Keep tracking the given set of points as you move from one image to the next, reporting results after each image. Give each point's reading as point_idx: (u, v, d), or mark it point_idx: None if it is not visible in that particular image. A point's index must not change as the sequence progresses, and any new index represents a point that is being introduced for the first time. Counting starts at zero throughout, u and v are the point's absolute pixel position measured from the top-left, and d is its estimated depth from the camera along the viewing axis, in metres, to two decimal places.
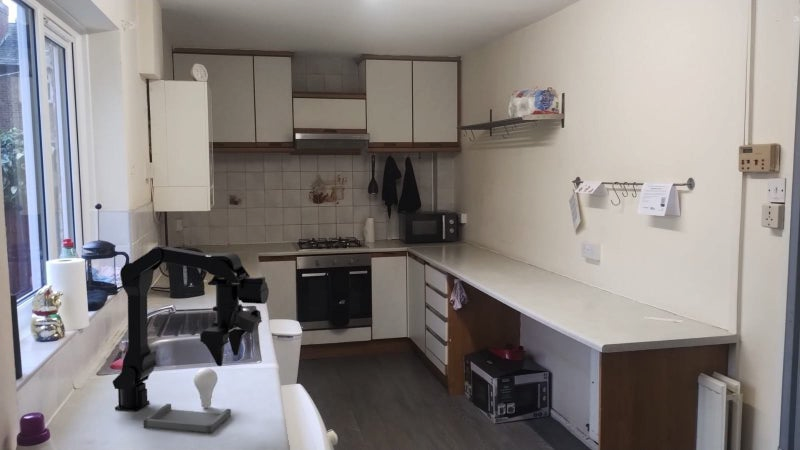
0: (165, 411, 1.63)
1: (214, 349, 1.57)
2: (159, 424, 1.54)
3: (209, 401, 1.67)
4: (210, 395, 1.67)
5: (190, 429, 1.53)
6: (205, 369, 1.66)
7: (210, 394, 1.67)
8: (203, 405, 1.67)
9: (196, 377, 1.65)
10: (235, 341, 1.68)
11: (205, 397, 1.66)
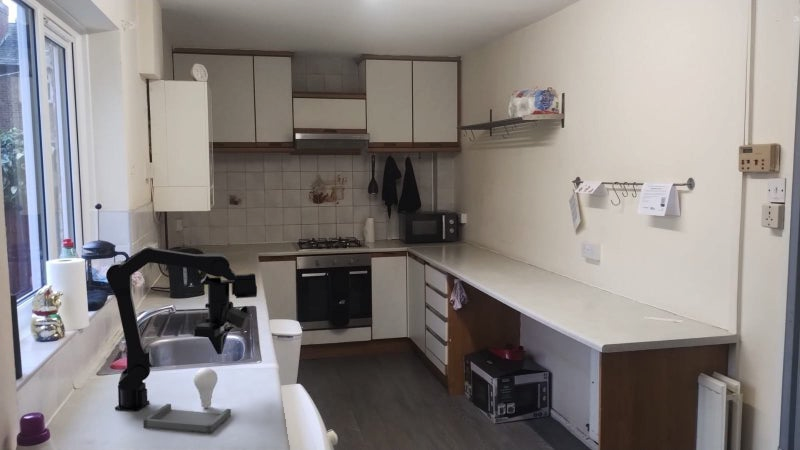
0: (165, 411, 1.63)
1: (214, 339, 1.73)
2: (159, 424, 1.54)
3: (209, 401, 1.67)
4: (210, 395, 1.67)
5: (190, 429, 1.53)
6: (205, 369, 1.66)
7: (210, 394, 1.67)
8: (203, 405, 1.67)
9: (196, 377, 1.65)
10: None
11: (205, 397, 1.66)
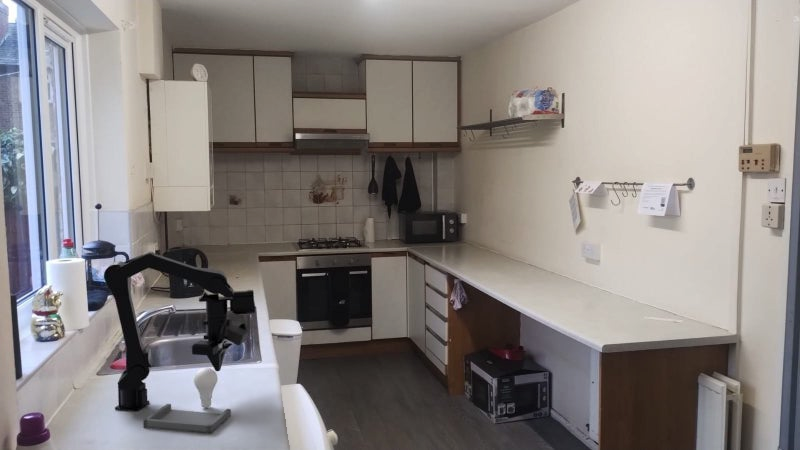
0: (165, 411, 1.63)
1: (212, 356, 1.72)
2: (159, 424, 1.54)
3: (209, 401, 1.67)
4: (210, 395, 1.67)
5: (190, 429, 1.53)
6: (205, 369, 1.66)
7: (210, 394, 1.67)
8: (203, 405, 1.67)
9: (196, 377, 1.65)
10: None
11: (205, 397, 1.66)
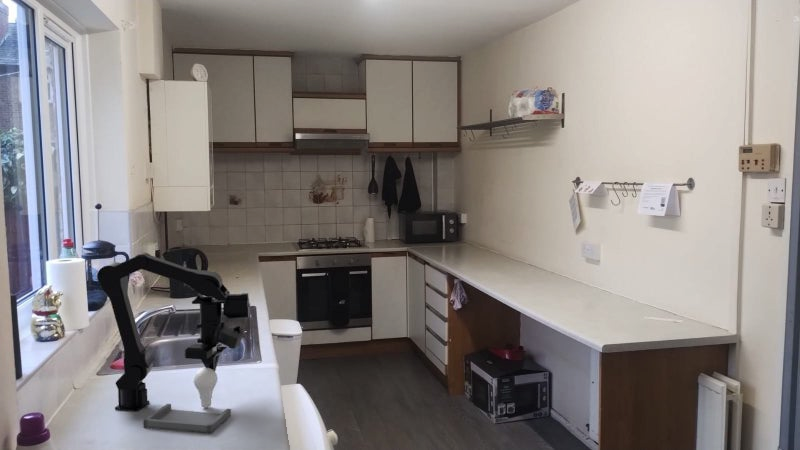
0: (165, 411, 1.63)
1: (206, 359, 1.69)
2: (159, 424, 1.54)
3: (209, 401, 1.67)
4: (210, 395, 1.67)
5: (190, 429, 1.53)
6: (205, 369, 1.66)
7: (210, 394, 1.67)
8: (203, 405, 1.67)
9: (196, 377, 1.65)
10: None
11: (205, 397, 1.66)
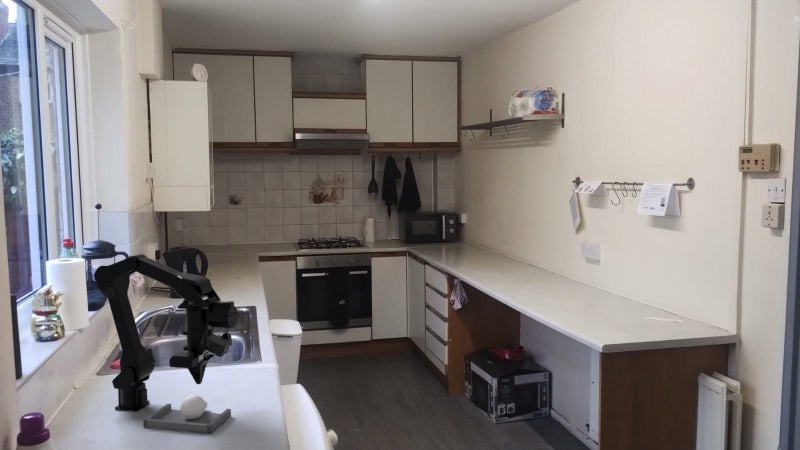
0: (165, 411, 1.63)
1: (193, 368, 1.62)
2: (159, 424, 1.54)
3: (205, 407, 1.65)
4: None
5: (190, 429, 1.53)
6: (189, 410, 1.56)
7: None
8: None
9: None
10: None
11: None
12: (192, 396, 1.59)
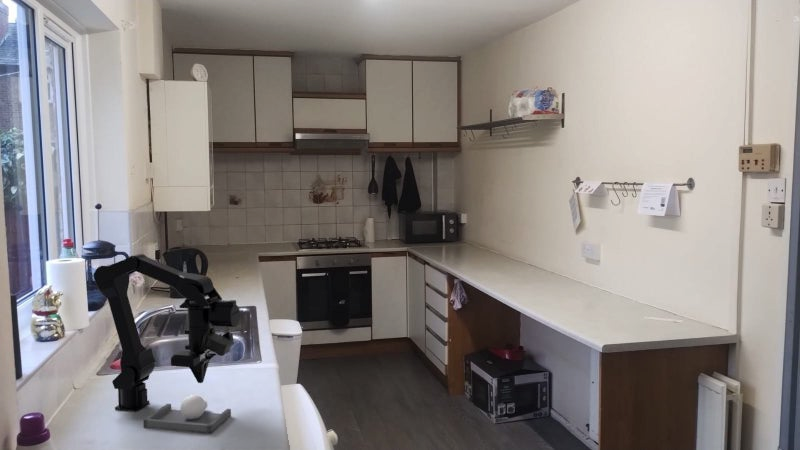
0: (165, 411, 1.63)
1: (194, 367, 1.63)
2: (159, 424, 1.54)
3: (205, 407, 1.65)
4: None
5: (190, 429, 1.53)
6: (189, 410, 1.56)
7: None
8: None
9: None
10: None
11: None
12: (192, 396, 1.59)
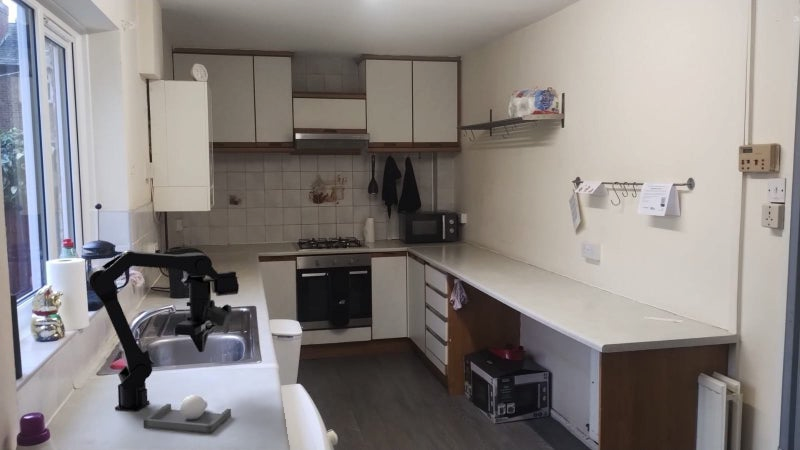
0: (165, 411, 1.63)
1: (195, 337, 1.75)
2: (159, 424, 1.54)
3: (205, 407, 1.65)
4: None
5: (190, 429, 1.53)
6: (189, 410, 1.56)
7: None
8: None
9: None
10: None
11: None
12: (192, 396, 1.59)
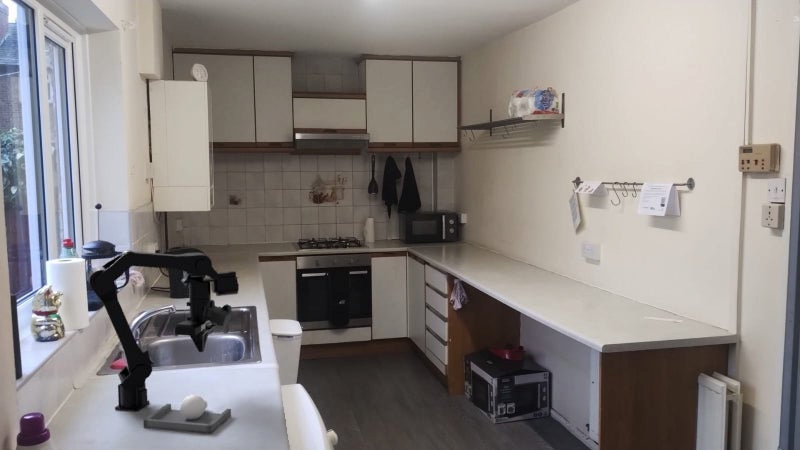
0: (165, 411, 1.63)
1: (195, 337, 1.75)
2: (159, 424, 1.54)
3: (205, 407, 1.65)
4: None
5: (190, 429, 1.53)
6: (189, 410, 1.56)
7: None
8: None
9: None
10: None
11: None
12: (192, 396, 1.59)
